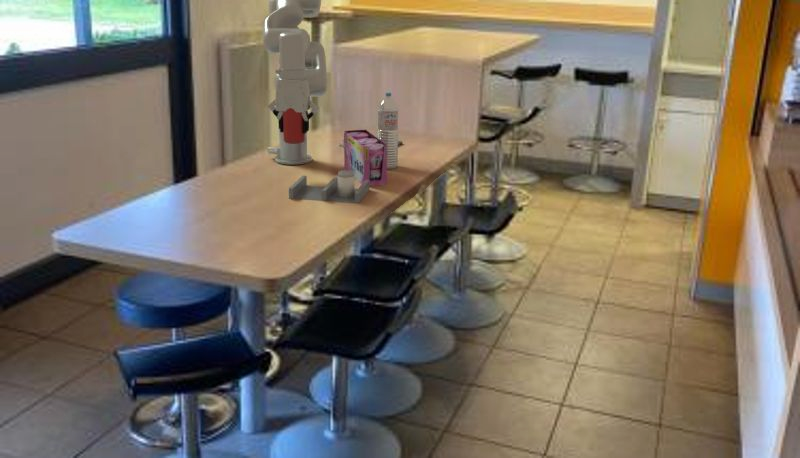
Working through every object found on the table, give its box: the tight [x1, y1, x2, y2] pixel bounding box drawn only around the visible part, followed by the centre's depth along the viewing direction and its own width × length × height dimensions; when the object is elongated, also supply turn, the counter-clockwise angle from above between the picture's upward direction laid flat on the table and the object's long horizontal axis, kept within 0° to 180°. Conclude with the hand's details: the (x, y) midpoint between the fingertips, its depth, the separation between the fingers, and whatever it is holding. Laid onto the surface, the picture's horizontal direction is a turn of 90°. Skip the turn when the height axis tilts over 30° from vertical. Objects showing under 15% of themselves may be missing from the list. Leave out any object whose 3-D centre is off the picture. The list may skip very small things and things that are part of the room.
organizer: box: [288, 175, 370, 204], centre depth 239 cm, size 21×14×4 cm
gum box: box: [343, 129, 388, 187], centre depth 257 cm, size 24×8×14 cm, turn 19°
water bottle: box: [377, 92, 400, 170], centre depth 269 cm, size 7×7×25 cm
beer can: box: [283, 108, 305, 144], centre depth 249 cm, size 7×7×12 cm
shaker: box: [336, 169, 356, 198], centre depth 237 cm, size 5×5×7 cm
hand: (294, 131), depth 250 cm, fingers closed on beer can, 6 cm apart
